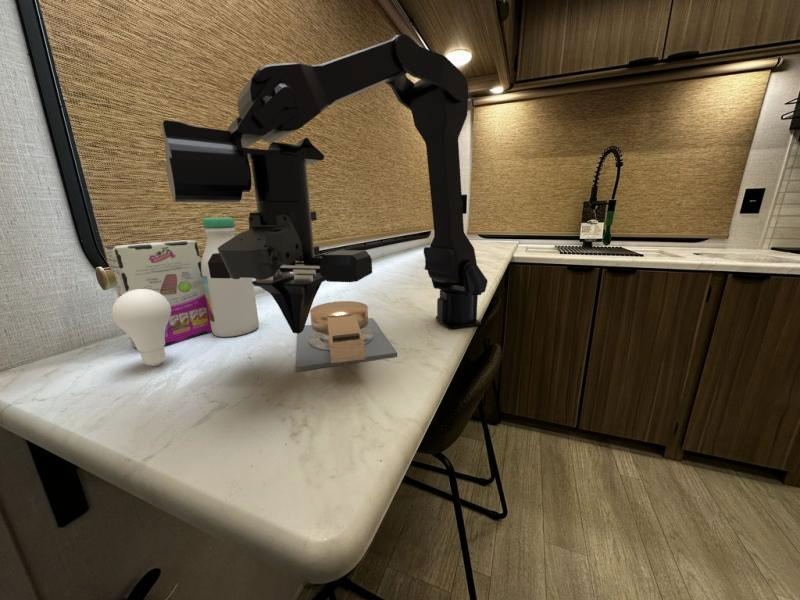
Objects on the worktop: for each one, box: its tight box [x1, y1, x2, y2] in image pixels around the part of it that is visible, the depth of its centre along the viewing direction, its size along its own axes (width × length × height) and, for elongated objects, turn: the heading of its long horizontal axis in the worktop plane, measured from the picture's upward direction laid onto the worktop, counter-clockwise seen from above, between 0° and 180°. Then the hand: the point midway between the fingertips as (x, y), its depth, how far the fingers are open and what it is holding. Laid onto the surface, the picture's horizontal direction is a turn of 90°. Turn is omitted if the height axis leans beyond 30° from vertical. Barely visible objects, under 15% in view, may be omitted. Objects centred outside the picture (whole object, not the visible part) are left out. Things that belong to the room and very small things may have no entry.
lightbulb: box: [111, 289, 171, 367], centre depth 43 cm, size 6×6×11 cm
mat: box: [295, 317, 398, 372], centre depth 51 cm, size 14×17×1 cm
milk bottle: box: [201, 217, 260, 338], centre depth 55 cm, size 8×8×20 cm
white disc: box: [308, 327, 373, 351], centre depth 51 cm, size 10×10×2 cm
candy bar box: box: [103, 239, 212, 348], centre depth 52 cm, size 11×5×16 cm, turn 148°
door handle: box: [309, 300, 369, 363], centre depth 46 cm, size 18×9×3 cm, turn 14°
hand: (298, 332), depth 39 cm, fingers closed
